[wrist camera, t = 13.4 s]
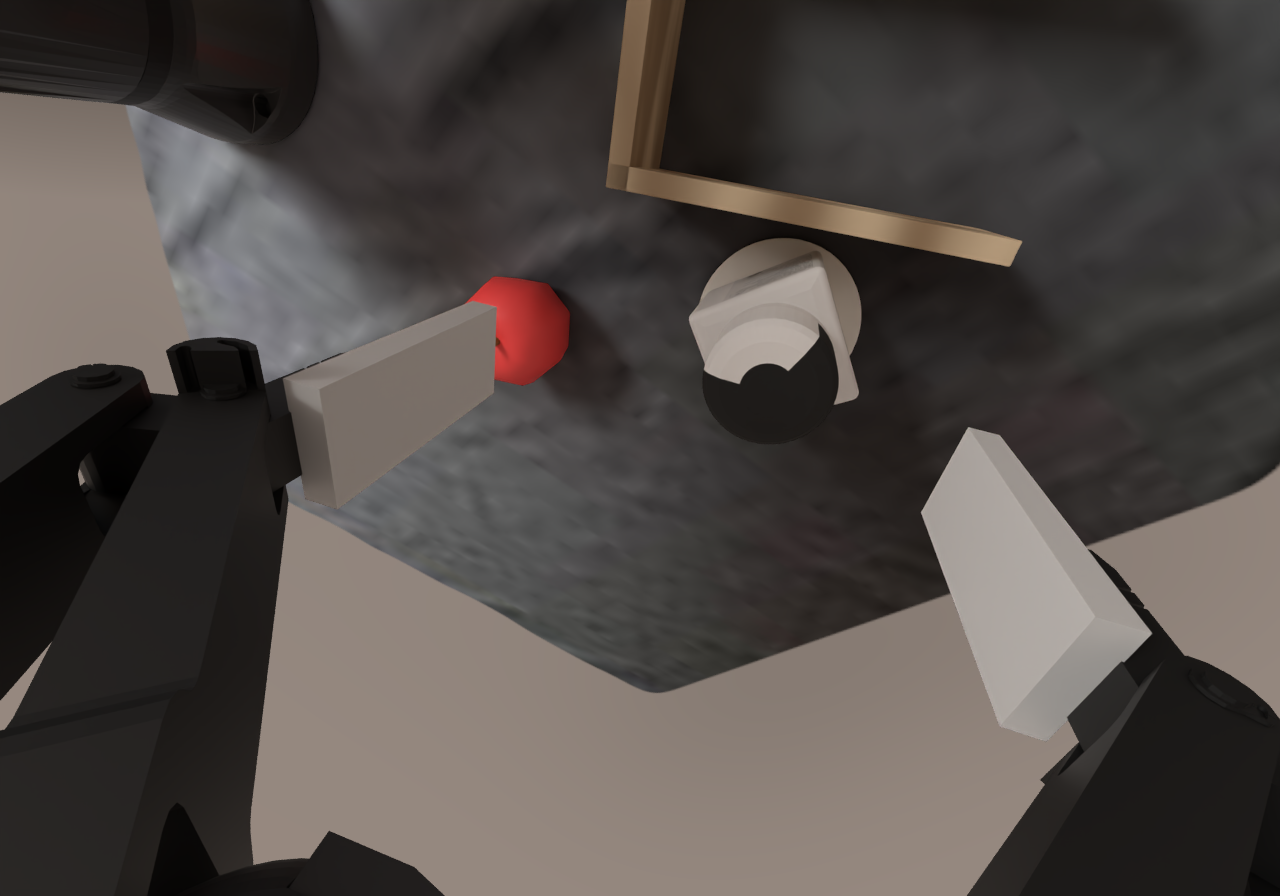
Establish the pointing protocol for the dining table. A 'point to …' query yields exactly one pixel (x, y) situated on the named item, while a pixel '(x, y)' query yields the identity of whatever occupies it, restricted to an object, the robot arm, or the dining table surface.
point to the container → (774, 352)
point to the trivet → (787, 249)
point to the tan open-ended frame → (638, 171)
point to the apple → (525, 327)
